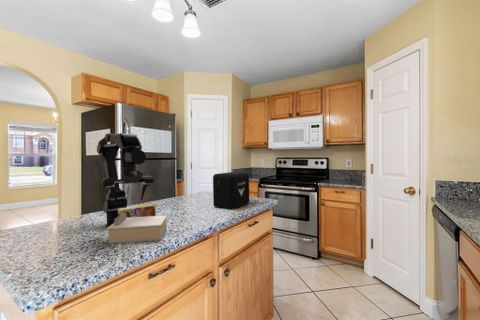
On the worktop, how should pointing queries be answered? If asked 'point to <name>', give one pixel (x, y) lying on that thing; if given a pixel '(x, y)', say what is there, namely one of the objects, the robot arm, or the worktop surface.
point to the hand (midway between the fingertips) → (129, 201)
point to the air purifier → (230, 190)
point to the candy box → (138, 211)
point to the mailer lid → (136, 222)
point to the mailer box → (137, 234)
